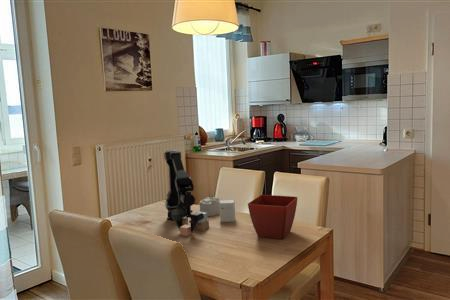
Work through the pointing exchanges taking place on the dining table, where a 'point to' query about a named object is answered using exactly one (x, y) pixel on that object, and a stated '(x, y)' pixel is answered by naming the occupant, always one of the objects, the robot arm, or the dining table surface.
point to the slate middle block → (203, 218)
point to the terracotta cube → (185, 230)
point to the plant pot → (272, 215)
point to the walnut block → (185, 221)
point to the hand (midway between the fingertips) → (186, 231)
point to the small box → (227, 211)
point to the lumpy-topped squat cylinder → (210, 206)
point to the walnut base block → (202, 225)
